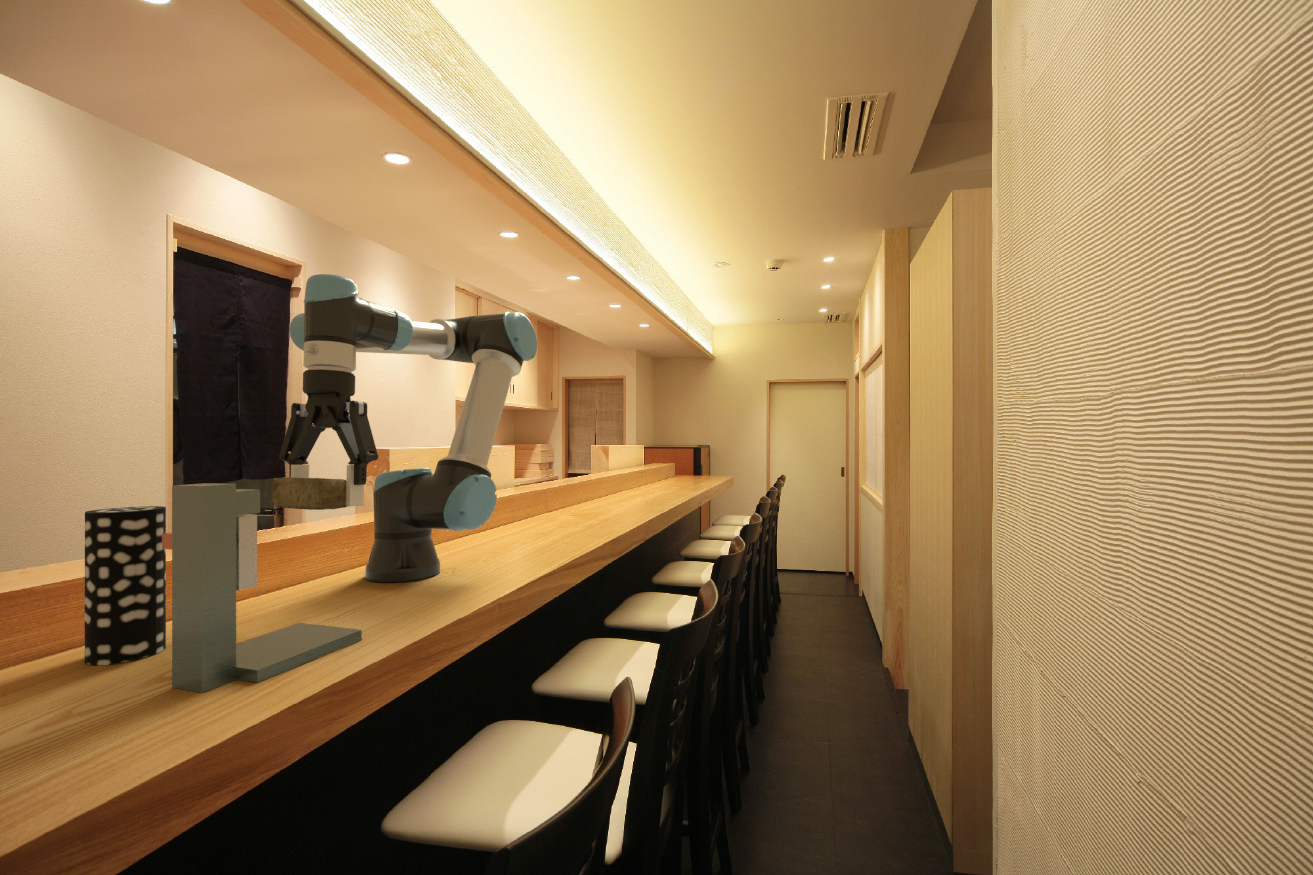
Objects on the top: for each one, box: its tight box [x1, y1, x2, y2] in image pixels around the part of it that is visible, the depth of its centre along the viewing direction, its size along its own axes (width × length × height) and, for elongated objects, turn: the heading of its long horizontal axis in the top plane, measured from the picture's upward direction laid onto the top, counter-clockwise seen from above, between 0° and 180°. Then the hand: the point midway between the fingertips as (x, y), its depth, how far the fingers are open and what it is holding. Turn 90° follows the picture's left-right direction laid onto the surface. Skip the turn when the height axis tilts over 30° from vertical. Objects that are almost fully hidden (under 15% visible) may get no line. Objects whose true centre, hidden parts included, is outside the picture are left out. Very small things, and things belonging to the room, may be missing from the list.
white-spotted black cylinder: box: [84, 505, 167, 666], centre depth 81 cm, size 8×8×20 cm
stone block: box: [271, 477, 347, 511], centre depth 92 cm, size 6×12×5 cm, turn 67°
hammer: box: [162, 514, 258, 591], centre depth 77 cm, size 4×13×9 cm, turn 72°
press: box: [171, 482, 363, 694], centre depth 78 cm, size 20×12×24 cm, turn 162°
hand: (326, 505), depth 95 cm, fingers closed on stone block, 11 cm apart
